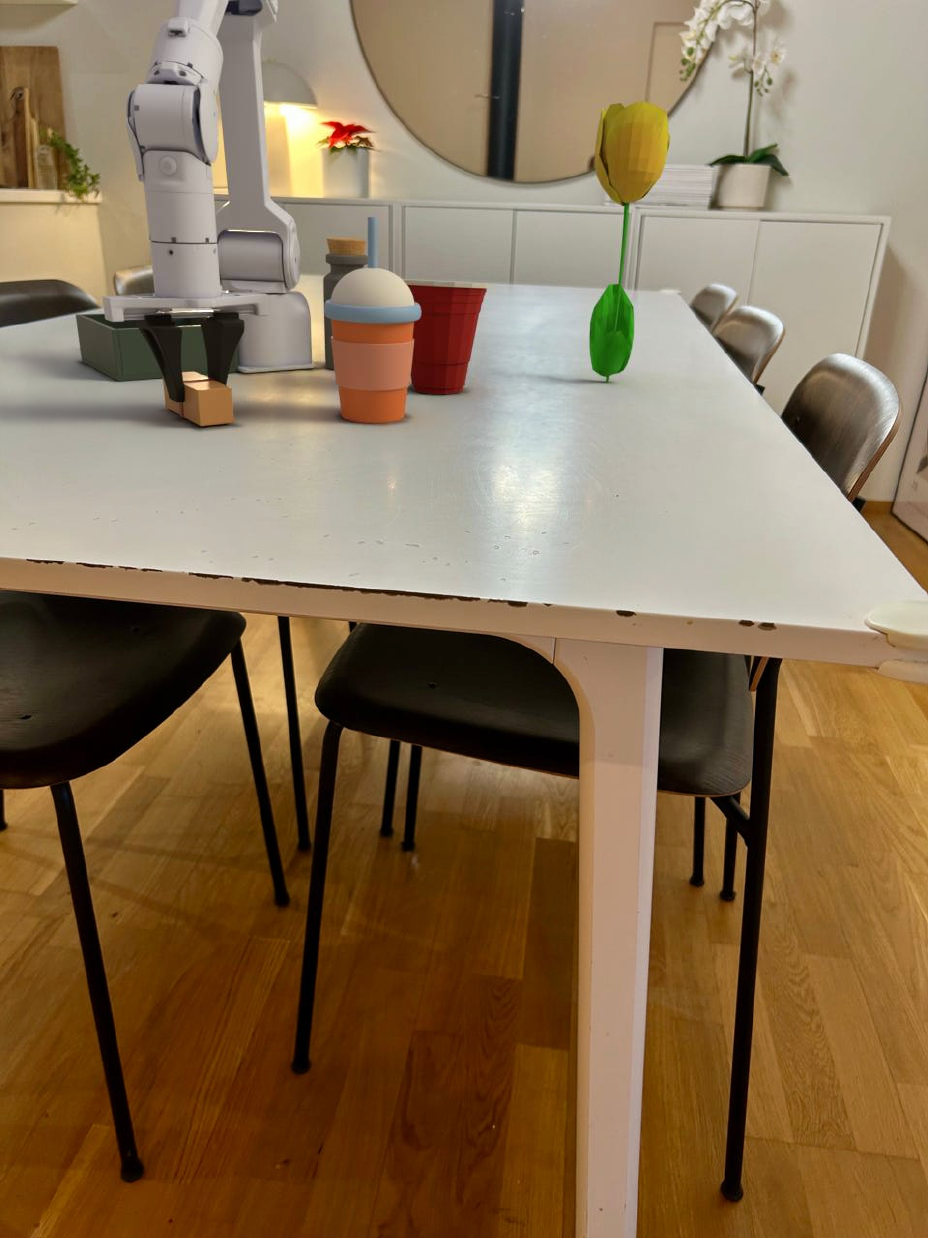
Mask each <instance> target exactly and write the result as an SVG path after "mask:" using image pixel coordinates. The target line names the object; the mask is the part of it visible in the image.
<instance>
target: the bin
mask: <svg viewBox="0 0 928 1238" xmlns="http://www.w3.org/2000/svg"><path fill="white" fill-rule="evenodd" d="M181 311H182V310H172V311H170V312H181ZM201 318H206V317H195V318H172V322H175V326H177V327H180V328H181V329H182V341H181V368H182V372H193V371H194V372H197V373H199V374H201V375H203V376H206V375H207V376H208V371H207V356H206V350H205V344H204V339H203V334H202V329H201V325H200V319H201ZM75 321H76V327H77V335H78V344H79V350H80V357H81V362H82V363H84V364H86V365H87V366H90V367H92V368H93V369H95V370H97V371H99V372H101V373H102V374H104V375H106V376H108V377H109V378H112V379H113V380H115V381H117V382H126V381H127V382H128V381H140V380H155V379H163V375H162V372H161V370H160V367H159V365H158V363H157V361H156V358H155V356H154V354H153V352H152V351H151V349H150V347H149V345H148V343H147V342H146V340H145V338H144V337H143V335H142V333H141V332H140V330H139V328H138V326H137V322H136V320H124V321H123V322H111V321H109V320H106V319H105V313H82V314H80V313H78V314H77V313H76V314H75ZM239 372H240V371H238V355H237V348H236V350H235V353H234V356H233V359H232V362H231V366H230V370H229V374H235V373H239Z"/></svg>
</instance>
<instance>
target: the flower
mask: <svg viewBox="0 0 928 1238" xmlns="http://www.w3.org/2000/svg"><path fill="white" fill-rule="evenodd" d="M598 122H599V123H598V127H597V131H596V138H595V146H594V169H595V174H596V178H597V179H598V181H599V184H600V185H601V187H602V189H603V191H604V192H605V193H606V195H607V196H608V197H609V198H610V200H611V201H613V202H614V203H616V204H618V205H620V206H621V207H623V218H622V219H623V221H622V235H621V249H620V251H621V252H620V263H619V273H618V274H619V275H618V283H614V284H613V283H609V284H608V285H607V286H606V288H605V290H604V291H603V293H602V294H601V296H600V297H599V298H598V300H597V302H596V304H595V305H594V307H593V310H592V312H591V317H590V321H589V335H588V337H589V338H588V339H589V341H588V344H589V357H590V363H591V370H592V371H593V372H595V373H596V374H597V375H599V376H600V377H605V383H606V384H607V383H608V384H609V382H610V377H611V376H613V375H617V374H620V373H622V372H623V371H625V369H626V367H627V366H628V363H629V361H630V358H631V355H632V350H633V346H634V339H635V311H634V305H633V304H632V301H631V300H630V298H629V296H628V294H627V292H626V290H625V289H624V288H623V286H622V281H623V273H624V264H625V263H624V262H625V254H626V245H627V237H628V235H627V234H628V225H629V222H628V221H629V211H630V203H631V204H632V203H636V202H638V201H640V200H641V199H644V198H645V197H646V196H647V195H648V193H649V192H650V191H651V190H652V188H653V187H654V186H655V185H656V184H657V182H658V181H659V179H660V178H661V177H662V175H663V171H664V169H665V165H666V161H667V156H668V151H669V148H670V143H671V135H670V133H669V118H668V113H667V110H665V109H663V108H662V107H660V106H658V105H656V104H653V103H651V102H647V101H645V100H642V101H641V100H640V101H636V102H633V103H631V104H629V105H627V106H624V105H623V104H622V102H618V103H611V104H609V106H608V108H607V109H605V108H604V107H602V108H601V112H600V116H599V121H598Z"/></svg>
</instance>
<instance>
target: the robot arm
mask: <svg viewBox="0 0 928 1238" xmlns="http://www.w3.org/2000/svg"><path fill="white" fill-rule="evenodd" d="M278 11H279V4H278V0H174V6H173V17H172V18H168V19H166V20H165V21H163V23H161V25H160V26H159V27H158V29H157V32H156V35H155V39H154V42H153V47H152V51H151V56H150V58H149V59H150V60H149V63H148V67H147V71H146V76H145V79H144V83H139V84H138V85H136V88H135V90H134V89H131V90H129V92H128V93H127V96H126V101H125V122H126V123H125V124H126V131H127V136H128V139H129V144H130V147H131V149H132V152H133V156H134V161H135V170H136V175H137V179H138V181H139V182H141V183H143V191H144V201H145V210H146V212H145V213H146V220H147V221H146V222H147V229H148V239H149V250H150V259H151V270H152V271H151V272H152V279H153V280H152V281H153V288H154V289H153V290H154V291H153V292H152V293H139V294H124V295H103V296H102V305H103V311H104V312H103V314H105V319H106V320H109V321H111V322H123V321H124V320H136V322H137V326H138V328H139V330H140V332H141V333H142V335H143V337H144V338H145V340H146V342H147V343H148V345H149V347H150V349H151V351H152V352H153V354H154V356H155V358H156V361H157V363H158V365H159V367H160V370H161V372H162V375H163V378H164V380H165V384H166V387H167V390H168V394H169V398H170V399H171V400H173V401H175V402H184V384H183V376H182V368H181V341H182V329H181V328H180V327H177V326H175V322H172V318H195V317H206V318H201V319H200V325H201V329H202V334H203V339H204V344H205V350H206V356H207V371H208V375H207V377H208V378H210V377H212V378H214V379H215V381H217V382H219V383H222V384H224V385H226V386H228V385H227V384H228V378H229V374H230V373H229V370H230V366H231V362H232V359H233V356H234V353H235V350H236V348H237V355H238V371H239V372H241V373H243V374H252V373H264V372H267V373H268V372H278V371H279V372H280V371H293V370H305V369H307V370H308V369H315V368H316V364H315V363H313V344H312V343H313V341H312V338H313V337H312V314H311V310H310V305H309V302H308V299H307V297H306V296H305V295H304V294H303V293H302V292H300V291H297V290H293V289H295V288H296V286H297V285H298V284H299V282H300V277H301V267H302V266H301V263H302V261H301V248H300V242H299V239H298V232H297V231H298V230H297V224H296V223H295V219H294V217H292V216H291V215H290V213H288V212H287V211H286V210H285V209H283V208H282V207H281V206H279V205H278V204H277V203H276V202H274V200H273V199H272V198H271V192H270V191H271V190H270V189H271V188H270V175H269V174H270V173H269V161H268V147H267V144H268V143H267V130H266V116H265V102H264V100H265V99H264V89H263V87H264V86H263V85H264V84H263V76H262V75H263V74H262V71H263V70H262V58H261V57H262V55H261V48H262V38H263V31H264V30H265V29H267V28H269V27H270V26H272V25H274V24H276V23H277V22H278V21H277V18H278V17H277V13H278ZM218 94H219V95H218ZM217 95H218V96H219V106H220V109H219V106H218V103H217ZM219 110H220V111H219ZM219 115H220V116H219ZM220 118H221V129H222V139H223V140H222V141H223V151H224V163H225V173H226V183H227V184H226V185H227V195H228V201H227V202H226V203H225V204H224V205H223V206H221V207H220V208H219V209H217V210H216V207H215V206H216V205H215V194H214V193H215V191H214V179H213V178H214V177H213V165H212V164H214V163H215V162H216V160H217V158H218V154H219V144H220V143H219V142H220V137H219V135H220V133H219V131H220V130H219V121H220V120H219V119H220ZM173 309H211V310H180V311H181V312H170V311H173ZM163 378H162V379H163Z"/></svg>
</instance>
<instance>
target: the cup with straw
mask: <svg viewBox="0 0 928 1238" xmlns="http://www.w3.org/2000/svg"><path fill="white" fill-rule="evenodd" d="M367 256H368V264H367V267H363V268H361V269H357V270H354V271H352V272H350V273H348V274H347V275H345V276H344V277H343V278H342V279H341V280H340V281H339V282H338V284H337V285H336V287H335V288H334V290H333V293H332V297H331V299H330V300H327V301H326V302H325V304H324V303H323V315H324V314H325V316H326V317H328V318H330V319H331V323H332V333H333V336H332V337H331V342H332V351H333V360H334V369H333V370H334V377H335V384H336V385H337V387H338V397H339V407H340V413H341V417H342V418H343V419H345V420H346V421H350V422H355V423H361V424H391V423H397V422H399V421H402V420H403V419H404V418H405V413H406V404H407V395H408V394H407V393H408V388H409V386H410V383H411V366H412V357H413V347H414V339H413V338H412V337H413V327H414V321H417V320H419V319H420V317H421V307H420V305H419V304H418V303H416V302H414V299H413V296H412V293H411V291H410V289H409V287H408V286H407V285H406V283H405V282H404V281H403V280H404V279H403V278H401V277H400V276H399V275H397V274H396V273H394V272H392V271H390V270H388V269H384V268H380V267H378V217H377V216H367Z"/></svg>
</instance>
